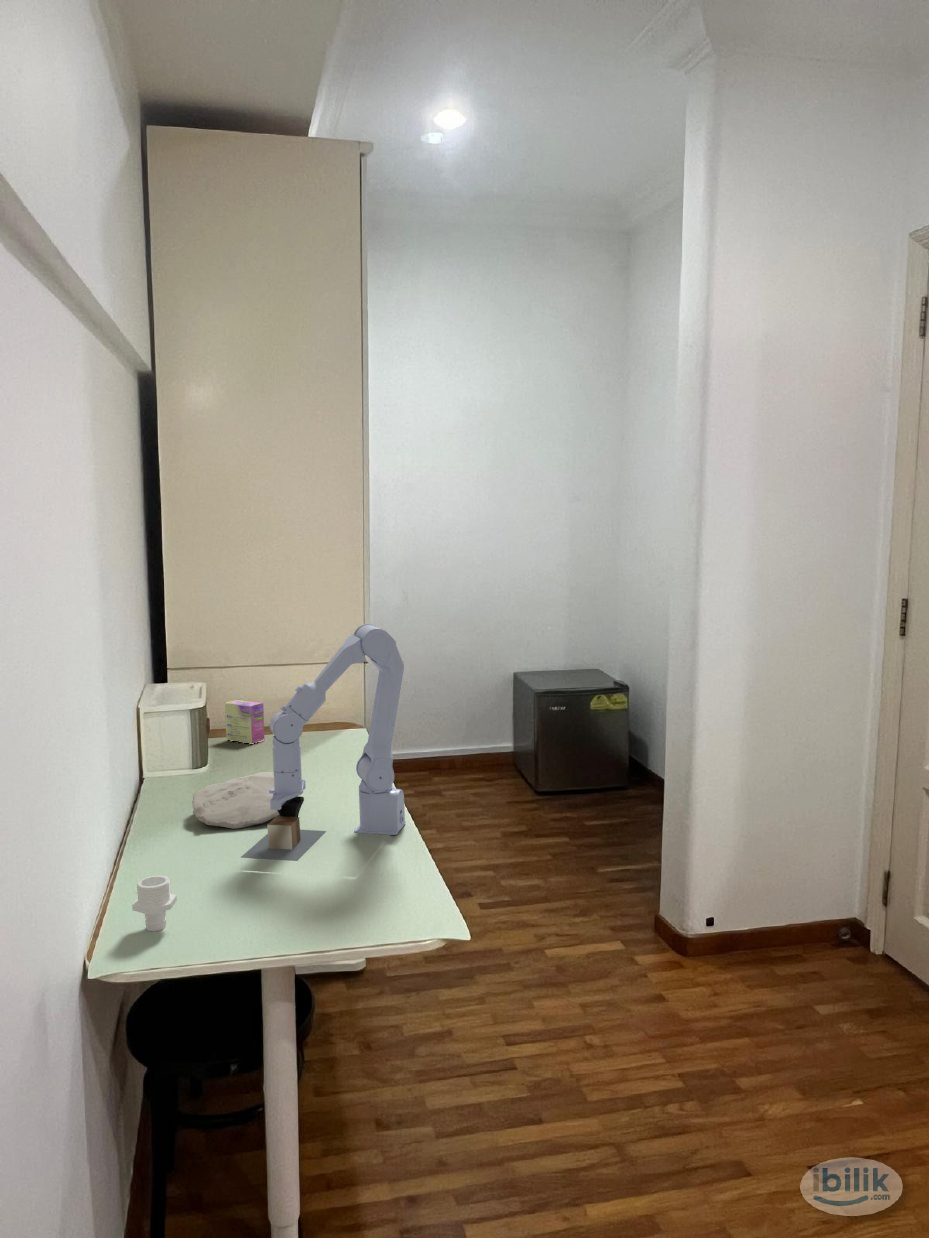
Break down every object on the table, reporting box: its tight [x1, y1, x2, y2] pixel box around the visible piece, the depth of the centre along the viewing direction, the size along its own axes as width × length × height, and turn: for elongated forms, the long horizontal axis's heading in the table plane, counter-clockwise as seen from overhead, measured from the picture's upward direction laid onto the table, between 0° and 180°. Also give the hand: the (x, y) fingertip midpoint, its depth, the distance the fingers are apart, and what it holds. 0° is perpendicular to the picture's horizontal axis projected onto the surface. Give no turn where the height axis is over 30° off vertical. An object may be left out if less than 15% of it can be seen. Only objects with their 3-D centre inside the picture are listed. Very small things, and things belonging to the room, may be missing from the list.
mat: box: [240, 829, 327, 862], centre depth 194 cm, size 12×17×1 cm
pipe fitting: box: [131, 875, 178, 932], centre depth 157 cm, size 6×7×8 cm
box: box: [224, 699, 265, 744], centre depth 281 cm, size 10×6×12 cm, turn 60°
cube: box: [266, 815, 301, 850], centre depth 193 cm, size 5×5×5 cm
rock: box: [191, 771, 280, 830], centre depth 218 cm, size 8×23×30 cm
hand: (290, 832), depth 197 cm, fingers closed
